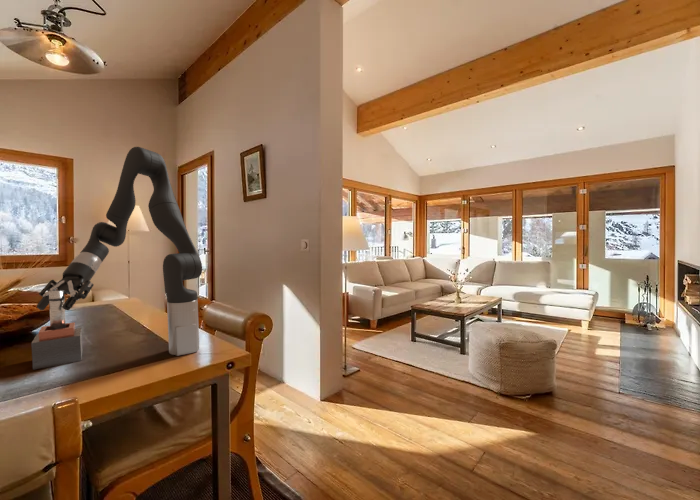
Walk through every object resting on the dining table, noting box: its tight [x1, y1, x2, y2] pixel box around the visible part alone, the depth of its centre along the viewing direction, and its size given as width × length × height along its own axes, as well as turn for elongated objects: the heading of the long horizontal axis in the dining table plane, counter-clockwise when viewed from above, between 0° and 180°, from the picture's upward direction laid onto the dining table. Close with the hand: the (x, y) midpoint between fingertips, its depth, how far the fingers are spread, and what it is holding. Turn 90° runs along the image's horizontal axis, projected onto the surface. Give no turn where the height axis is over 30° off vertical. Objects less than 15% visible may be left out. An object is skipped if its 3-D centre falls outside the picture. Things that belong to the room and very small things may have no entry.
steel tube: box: [48, 289, 66, 330], centre depth 103 cm, size 4×4×14 cm
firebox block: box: [30, 321, 84, 371], centre depth 103 cm, size 11×11×10 cm
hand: (52, 308), depth 101 cm, fingers open, 8 cm apart
